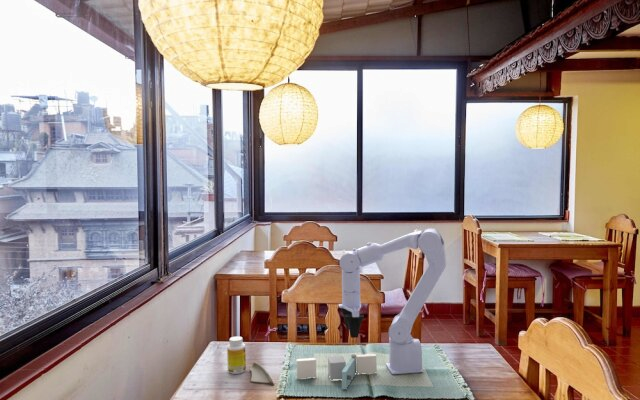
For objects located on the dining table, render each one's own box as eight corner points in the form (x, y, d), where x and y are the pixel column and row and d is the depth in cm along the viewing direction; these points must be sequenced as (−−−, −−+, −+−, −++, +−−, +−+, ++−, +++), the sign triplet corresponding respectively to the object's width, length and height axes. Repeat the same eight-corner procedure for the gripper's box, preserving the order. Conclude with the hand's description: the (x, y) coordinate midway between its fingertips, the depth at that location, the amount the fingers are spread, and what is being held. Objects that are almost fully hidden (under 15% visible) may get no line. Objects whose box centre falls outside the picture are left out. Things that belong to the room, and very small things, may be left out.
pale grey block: (343, 374, 141) (343, 356, 140) (346, 380, 136) (345, 361, 136) (328, 375, 140) (328, 357, 140) (330, 381, 136) (330, 363, 135)
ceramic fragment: (275, 386, 134) (274, 372, 134) (258, 390, 132) (258, 377, 132) (255, 370, 146) (255, 357, 146) (240, 374, 144) (239, 361, 143)
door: (351, 374, 139) (350, 358, 139) (358, 375, 138) (358, 358, 138) (342, 389, 130) (341, 371, 130) (349, 390, 129) (349, 372, 129)
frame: (375, 371, 142) (375, 352, 141) (376, 373, 140) (376, 354, 140) (297, 377, 139) (296, 358, 139) (297, 379, 137) (296, 360, 137)
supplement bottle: (247, 373, 143) (246, 340, 142) (229, 376, 141) (228, 342, 140) (244, 366, 148) (243, 334, 147) (226, 369, 146) (225, 336, 146)
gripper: (335, 285, 153) (335, 326, 154) (342, 296, 139) (343, 342, 139) (356, 284, 154) (357, 325, 155) (365, 295, 139) (366, 340, 140)
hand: (352, 333), depth 147 cm, fingers open, 7 cm apart
